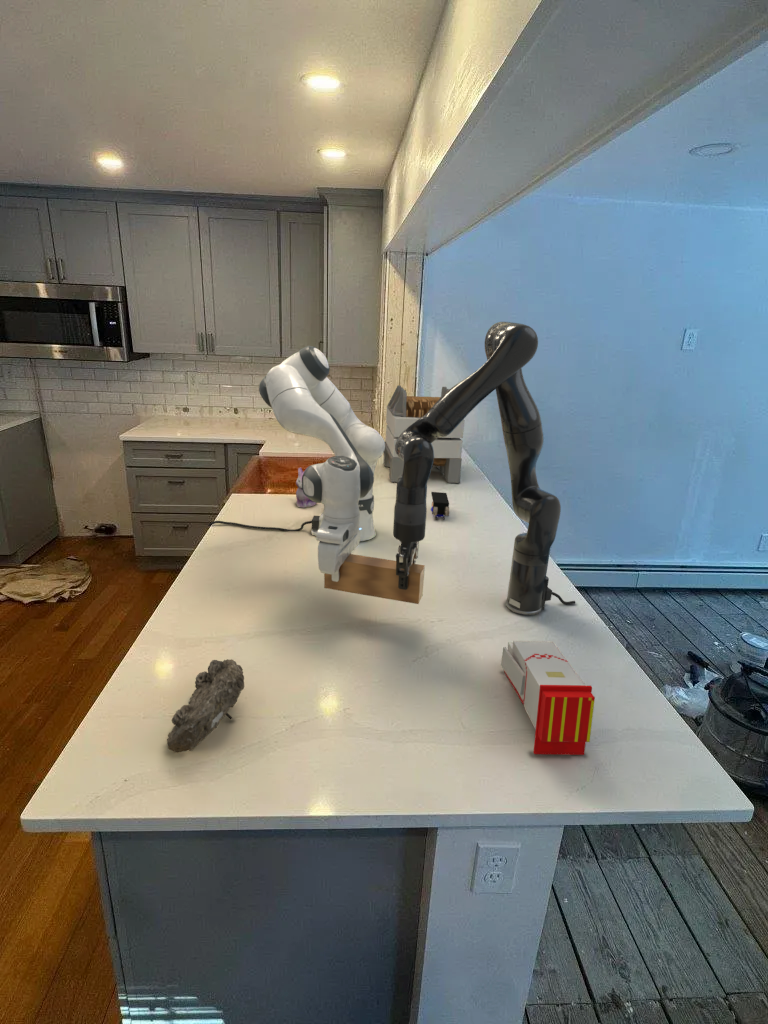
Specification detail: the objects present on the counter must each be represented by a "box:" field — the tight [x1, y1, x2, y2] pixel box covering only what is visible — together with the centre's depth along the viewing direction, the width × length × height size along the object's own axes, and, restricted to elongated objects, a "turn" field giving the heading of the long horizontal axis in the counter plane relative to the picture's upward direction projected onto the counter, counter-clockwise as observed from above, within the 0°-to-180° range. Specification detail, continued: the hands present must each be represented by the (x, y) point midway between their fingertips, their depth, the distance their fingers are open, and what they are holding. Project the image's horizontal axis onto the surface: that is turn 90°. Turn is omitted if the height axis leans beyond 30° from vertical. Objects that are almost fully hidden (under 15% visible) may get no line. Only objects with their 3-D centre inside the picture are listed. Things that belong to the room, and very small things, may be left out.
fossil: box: [166, 658, 245, 754], centre depth 106 cm, size 22×10×15 cm
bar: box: [323, 553, 426, 605], centre depth 140 cm, size 24×5×8 cm, turn 74°
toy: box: [500, 640, 596, 756], centre depth 114 cm, size 12×13×30 cm
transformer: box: [383, 384, 465, 484], centre depth 268 cm, size 34×33×41 cm
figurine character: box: [430, 491, 450, 521], centre depth 218 cm, size 7×8×15 cm
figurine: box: [295, 466, 317, 508], centre depth 222 cm, size 9×10×15 cm
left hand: (340, 575), depth 142 cm, fingers closed on bar, 5 cm apart
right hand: (406, 583), depth 138 cm, fingers open, 5 cm apart
